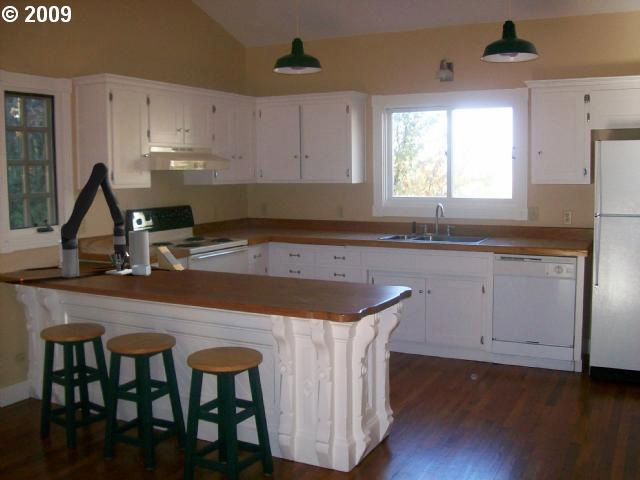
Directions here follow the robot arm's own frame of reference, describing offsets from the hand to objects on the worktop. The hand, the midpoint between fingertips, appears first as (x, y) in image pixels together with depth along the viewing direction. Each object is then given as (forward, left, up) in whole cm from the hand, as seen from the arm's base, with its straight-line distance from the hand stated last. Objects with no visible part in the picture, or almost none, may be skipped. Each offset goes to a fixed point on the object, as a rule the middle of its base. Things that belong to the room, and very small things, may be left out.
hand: (120, 269), depth 435 cm
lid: (0, 0, -1) cm, 1 cm away
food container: (+20, +20, -2) cm, 28 cm away
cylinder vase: (+19, +1, -2) cm, 19 cm away
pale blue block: (+1, -16, -2) cm, 16 cm away
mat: (0, 0, -2) cm, 2 cm away
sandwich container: (+26, -20, -3) cm, 33 cm away
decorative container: (+7, +54, -2) cm, 55 cm away
